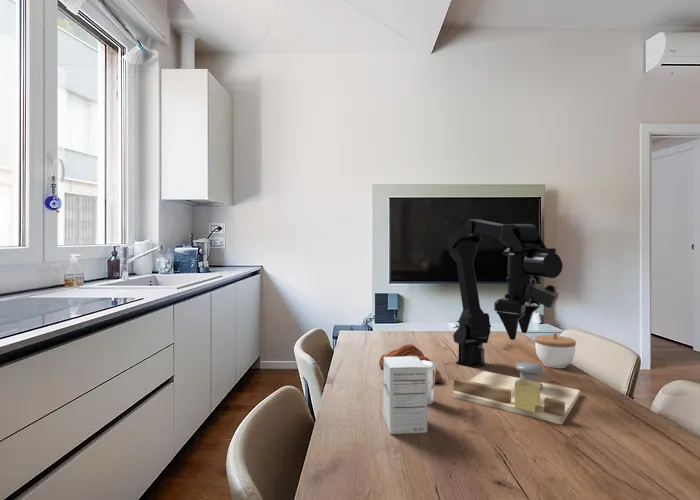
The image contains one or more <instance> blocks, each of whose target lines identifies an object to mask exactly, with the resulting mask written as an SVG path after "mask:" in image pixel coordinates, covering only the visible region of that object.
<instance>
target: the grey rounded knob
mask: <svg viewBox="0 0 700 500" xmlns="http://www.w3.org/2000/svg"><path fill="white" fill-rule="evenodd" d="M515 369H516V370H517V371H519V378H520V379H525V380H530V381H535V382H539V374H541V373H543V371H544V368H543V366H542V365H540V364H538V363H534V362H528V361H527V362H523V361H522V362H517V363H515ZM517 381H518V380H516V382H517ZM542 383H543V382H541V383H540V390H542V389H543V384H542Z"/></svg>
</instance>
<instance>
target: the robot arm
mask: <svg viewBox="0 0 700 500" xmlns="http://www.w3.org/2000/svg"><path fill="white" fill-rule="evenodd" d="M482 236H485V237H486V236H487V237H490V238H494V239H498V240H500V243H502V244H504V245H506V246H507V248H506V249H504V251H503V252H502V253H501V255H503V256H507V258H508V259H507V277H505V278H504V282H505V283H507V293H506V294H504V297H502V298H499V299H496V301H494V304H493V305H494V307H493V308H494V309H493V311H495V312H496V314H497V315H498V316H499V319H500V320H501V322H502V324H503V327H504V329H505V331H506V333H507V335H508V337H509V340H512V341H515V340H516V337H517V332H518V327H519V329H520V330H521V333H522V334H527V332H528V329H529V327H530V323H531V319H532V317H533V313H534V312H535V311H536V310H538V309H540V308H541V305H542V306H543V307H545V308H552V307H554V306H555V303H556V301H557V300H558V299H559V295H560V294H559V292H557V289H556V288H557V286H555V285H552V284H548V285H547V286H542V285H541V286H540V285H537V280H536V278H534V277H540V278H548V279H555V278H557V277H559V276H560V274H561V273H562V271H563V262H562V259H561V257H560V256H559V254H557V253H556V252H557V251H556V250H557V249H556V248H554V247H553V248H552V247H550V248H549V247H547V246H546V245H545V243H544V240H543V239H542V237H541V236H540V234H539V231H538V229H537V226H536V225H534V224H532V223H505V224H504V223H498V222H493V221H488V220H487V221H486V220H485V219H484V220H483V219H480V218H470V219H467V220H466V221H465V223H464V224H463V225H461V226H459V227H457V228H456V229H455V230H453V231H452V233H450V235H449V237H448V238H447V241H446V246H447V248H448V253H449V256H450V257H451V259H453V261H454V262H455V263H456V269H457V277H458V284H459V291H460V298H461V304H462V312H461V314H460V315H459V318H458V321H459V322H458V324H459V325H458V328H457V329H456V330H455V332H454V333H453V334H452V335H453V336H452V337H453V342H454V343H456V344H458V360H457V361H455V362H456V364H458V365H463V366H468V367H473V368H478V367H480V366H482V365H483V364H485V362H486V361H485V348H483V347H484V346H483V345H484V344H488V342H489V337H490V335H491V328H492V325H491V322H490V315H489V313H488V312H484V311H483V310H482V308H481V303H480V297H479V291H478V285H477V277H476V272H475V266H474V260H475V257H476V255H477V253H478V245H479V244H480V242H481V241H482V238H483V237H482ZM535 304H536V305H535Z"/></svg>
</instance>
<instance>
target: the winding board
mask: <svg viewBox="0 0 700 500" xmlns="http://www.w3.org/2000/svg"><path fill="white" fill-rule="evenodd" d="M519 379H520V377H515V376H511V375H506V374H502V373H501V374H499V373H495V372H490V371H486V370H482V371H481V372H479V373H477V375H475V376H474V377H472V378H471V379H469V380H466V379H462V378H458V377H457V378H455V379H453V391H452V392H451V398H455V399H458V400H462V401H466V402H470V403H473V404H477V405H481V406H484V407H485V406H486V407H489V408H493V409H497V410H502V411H506V412H510V413H513V414H517V415H521V416H525V417H528V418H533V419H537V420H542V421H545V422H549V423H553V424H557V425H561V426H562V425H563V424H564V422H565V421H566V420H567V417H568V416H569V414H570V412H571V411H572V409H573V408H574V406H575V404H576V402H577V401H578V399H579V398H580V395H581V390H580V389H576V388H570V387H565V386H562V385H556V384H550V383H547V382H546V383H545V382H540V381H539V382H540V383H542V384H543V389H542V390H540V407H539V408H538V409H537V410H536V412H532V411H528V410H524V409H520V408H516V407H515V383H516V380H519Z"/></svg>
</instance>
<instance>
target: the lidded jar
mask: <svg viewBox="0 0 700 500" xmlns="http://www.w3.org/2000/svg"><path fill="white" fill-rule="evenodd" d="M576 342H577V341H576V340H575V339H574V338H571V337H567V336H561V335H558V334H557V332H554V333H552V335H550V334H541V335H536V336H535V337H534V343H535V347H534V348H535V353H536V356H537V357H538V359H539V361H540V362H542V364H543V365H544V366H545V367H547V368H548V367H549V368H553V369H566V368H567V366H569V365H570V364H571V363H572V362H573V360H574V358H575V355H576V354H575V353H576V344H577V343H576Z"/></svg>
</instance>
